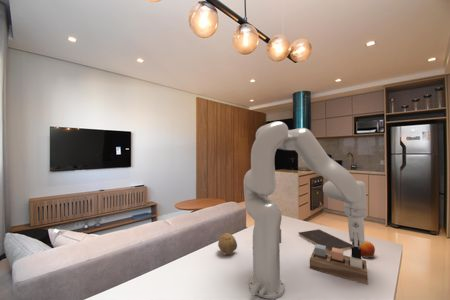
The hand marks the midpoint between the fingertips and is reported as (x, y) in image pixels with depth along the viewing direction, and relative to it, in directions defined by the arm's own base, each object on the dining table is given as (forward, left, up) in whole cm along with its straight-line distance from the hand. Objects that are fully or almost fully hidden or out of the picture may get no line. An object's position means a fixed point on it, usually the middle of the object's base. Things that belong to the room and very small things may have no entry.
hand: (356, 257), depth 81 cm
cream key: (0, 0, -3) cm, 3 cm away
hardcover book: (+26, +15, -7) cm, 31 cm away
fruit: (+19, -3, -7) cm, 20 cm away
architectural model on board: (+8, +39, -7) cm, 40 cm away
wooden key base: (0, +7, -6) cm, 9 cm away
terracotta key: (0, +7, -2) cm, 7 cm away
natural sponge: (-14, +53, -7) cm, 55 cm away
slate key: (0, +13, -2) cm, 13 cm away
